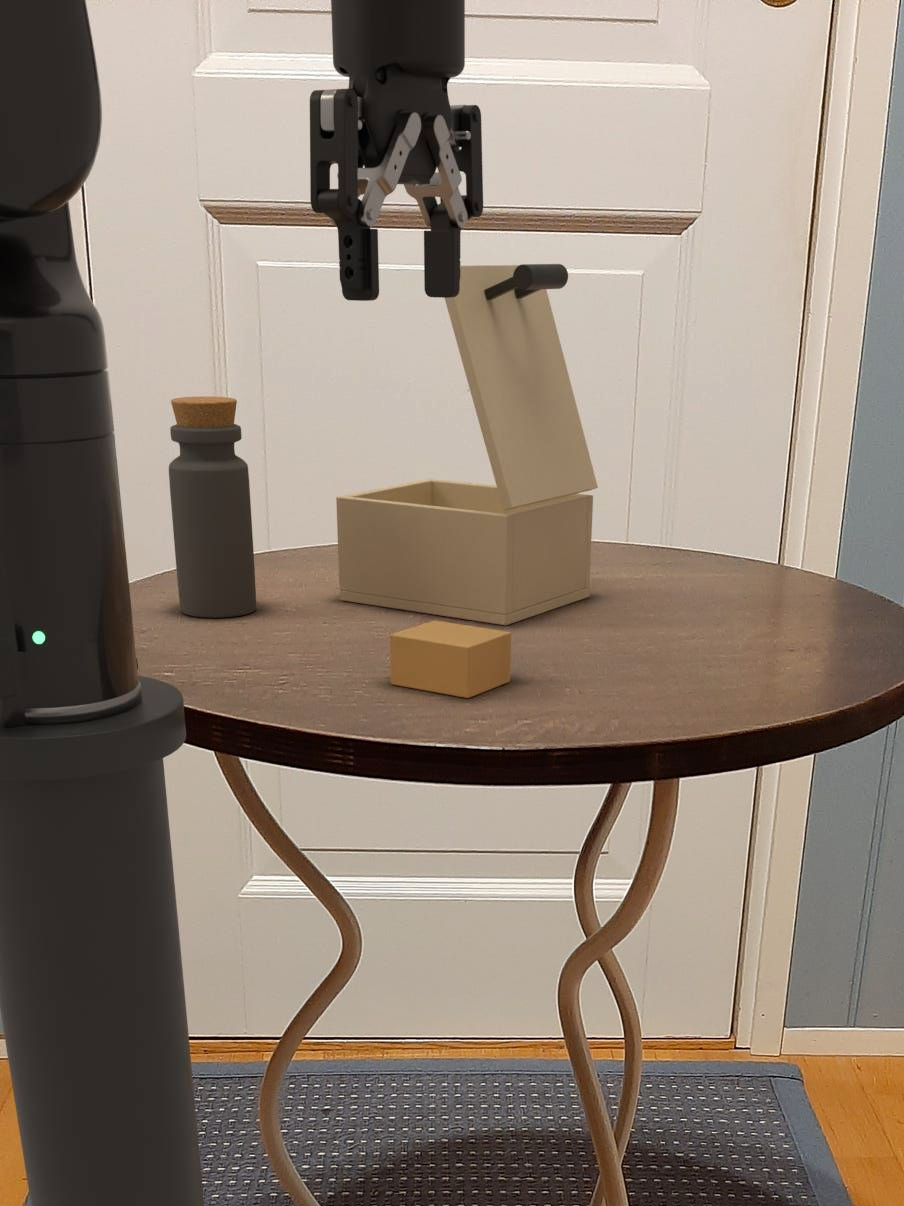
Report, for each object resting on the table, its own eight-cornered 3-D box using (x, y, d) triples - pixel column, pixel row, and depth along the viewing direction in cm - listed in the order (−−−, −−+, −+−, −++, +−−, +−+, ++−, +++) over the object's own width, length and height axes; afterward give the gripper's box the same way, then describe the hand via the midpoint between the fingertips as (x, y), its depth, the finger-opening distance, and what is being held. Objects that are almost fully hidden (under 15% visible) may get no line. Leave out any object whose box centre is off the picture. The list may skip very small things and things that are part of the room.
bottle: (271, 607, 118) (260, 398, 111) (227, 621, 113) (212, 404, 106) (210, 599, 120) (195, 394, 113) (164, 613, 115) (145, 400, 108)
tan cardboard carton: (390, 684, 97) (389, 634, 96) (434, 668, 101) (434, 619, 100) (468, 698, 95) (468, 647, 93) (510, 681, 98) (511, 632, 97)
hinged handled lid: (436, 270, 105) (493, 242, 101) (531, 268, 114) (586, 242, 111) (503, 511, 109) (560, 491, 106) (589, 490, 118) (644, 471, 115)
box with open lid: (339, 600, 120) (335, 496, 116) (430, 575, 129) (429, 478, 126) (505, 625, 113) (507, 516, 109) (589, 597, 122) (593, 495, 118)
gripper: (376, -49, 77) (384, 304, 85) (521, -14, 88) (516, 297, 96) (263, -37, 81) (280, 300, 89) (415, -4, 92) (419, 294, 99)
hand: (403, 298), depth 92 cm, fingers open, 8 cm apart
